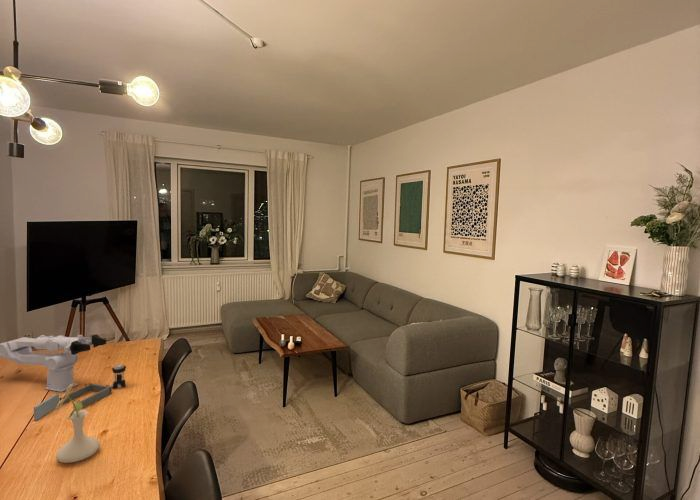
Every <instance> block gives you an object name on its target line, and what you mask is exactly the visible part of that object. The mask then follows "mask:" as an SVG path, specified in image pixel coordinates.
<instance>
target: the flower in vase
mask: <svg viewBox="0 0 700 500" xmlns="http://www.w3.org/2000/svg"><path fill="white" fill-rule="evenodd" d="M72 386H73V384H70V386H69V387H68V388H67V390H65V393H64V394H63V395H62V396H61V397H62V400H61V401H60V400H59V403H58V404H57V407H56V408H55V409H54V410H59V409H60V408H61V407H62V406H63V405H62V404H63V402H64V401H65V400H66V399H68V398H69V399H70V402H71V404H72V405H73V406H72V409H73V410H72V411H71V413H70V414H69V415H68V416H67V419H68V420H69V419H70V421H71V422H72V425H73V435H72V437H71V439H70V440H68V441H67V442H66V443H65V444H63V445H62V447H60V448H59V449H58V451H57V452H56V455H55V458H56V460H57V461H59V462H60V463H63V464H64V463H65V464H68V463H77V462H79V461H83V460H85V459H88V458H89V457H91V456H93V455H94V454H95V453H97V452H98V450H99V448H100V446H101V443H100V441H99V440H98V439H97V438H95V437H93V436H89V435H85V434H84V430H83V426H84V419H85V417H86V416H87V414H88V410H86V409H85V410H84V408H83V405H82V403H81V402H80V401H81V400H80V399H78V400H77V401H76V402H74V400H72V399H71V398H70V397H69V395H68V394H69V393H71V392H72V388H73V387H72ZM82 408H83V409H82Z"/></svg>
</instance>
